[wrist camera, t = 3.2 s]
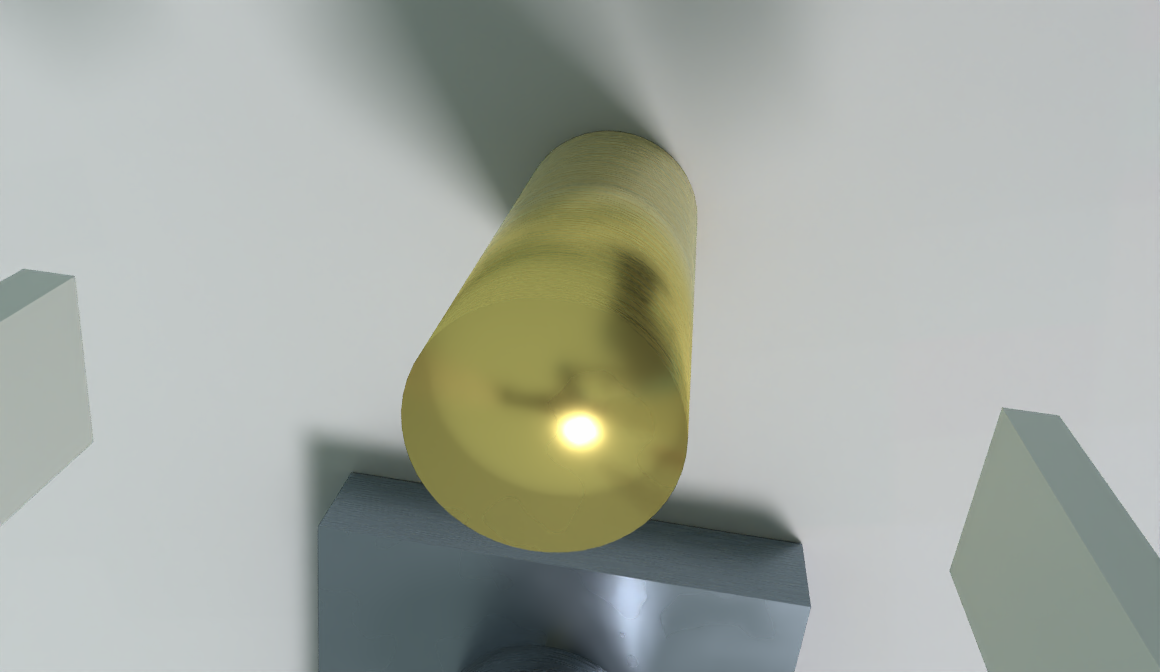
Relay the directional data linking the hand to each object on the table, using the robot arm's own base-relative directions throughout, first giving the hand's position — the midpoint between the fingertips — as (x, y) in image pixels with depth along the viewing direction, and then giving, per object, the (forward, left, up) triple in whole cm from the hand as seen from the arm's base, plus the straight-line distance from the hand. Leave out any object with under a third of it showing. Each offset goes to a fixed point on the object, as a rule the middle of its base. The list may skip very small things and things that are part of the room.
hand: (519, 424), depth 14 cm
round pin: (0, 0, -10) cm, 10 cm away
